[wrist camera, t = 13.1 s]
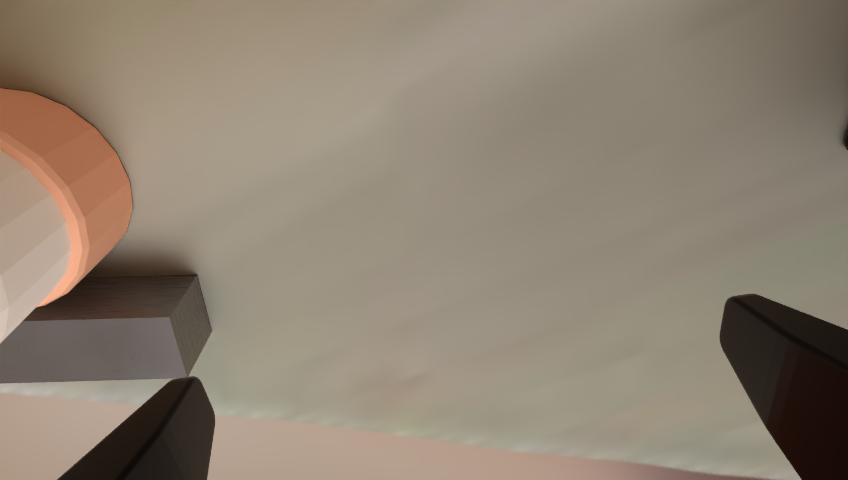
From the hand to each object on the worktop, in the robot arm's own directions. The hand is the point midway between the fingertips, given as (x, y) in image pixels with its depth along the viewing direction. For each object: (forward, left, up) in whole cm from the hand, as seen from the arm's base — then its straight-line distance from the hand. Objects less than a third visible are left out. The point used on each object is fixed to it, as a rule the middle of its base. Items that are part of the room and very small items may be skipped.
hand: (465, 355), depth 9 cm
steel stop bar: (+16, +7, -13) cm, 22 cm away
